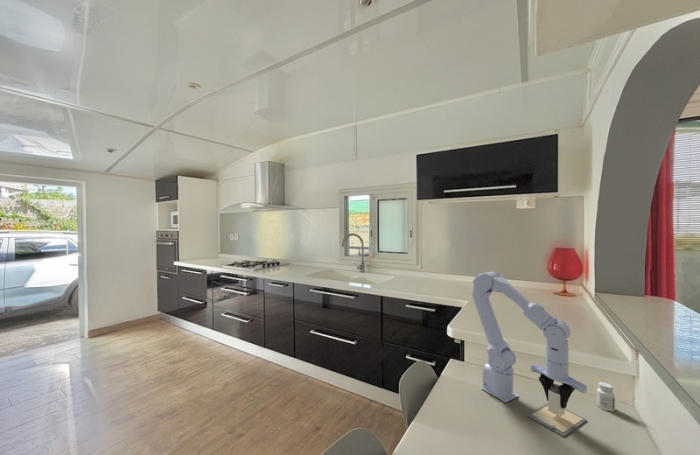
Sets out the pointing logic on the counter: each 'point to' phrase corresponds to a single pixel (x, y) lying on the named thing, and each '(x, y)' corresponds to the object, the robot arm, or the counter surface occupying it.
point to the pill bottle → (605, 397)
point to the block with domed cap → (555, 400)
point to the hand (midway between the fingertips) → (556, 403)
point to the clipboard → (557, 420)
